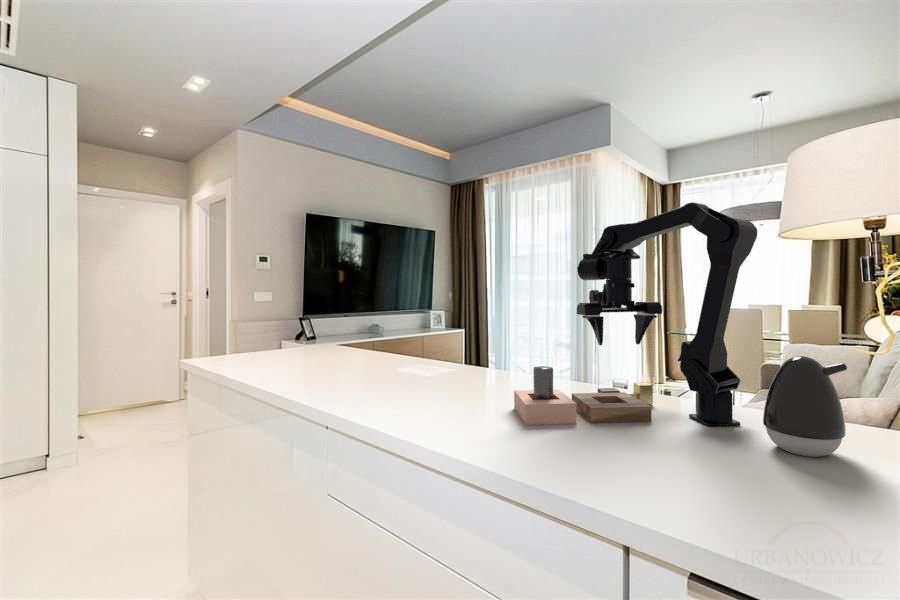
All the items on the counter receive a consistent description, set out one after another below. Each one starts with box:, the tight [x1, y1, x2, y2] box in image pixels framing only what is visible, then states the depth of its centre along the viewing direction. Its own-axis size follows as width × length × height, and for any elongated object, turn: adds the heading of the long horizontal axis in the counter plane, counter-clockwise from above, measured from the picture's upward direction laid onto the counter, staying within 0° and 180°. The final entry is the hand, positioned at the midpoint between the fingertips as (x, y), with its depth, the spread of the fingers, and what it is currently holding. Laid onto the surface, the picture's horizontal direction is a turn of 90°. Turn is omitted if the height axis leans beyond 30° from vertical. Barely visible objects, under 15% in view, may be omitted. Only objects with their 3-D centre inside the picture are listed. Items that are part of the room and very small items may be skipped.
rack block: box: [513, 388, 577, 426], centre depth 91 cm, size 12×10×4 cm
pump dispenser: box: [762, 355, 848, 458], centre depth 69 cm, size 10×10×15 cm
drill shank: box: [533, 365, 554, 400], centre depth 90 cm, size 4×4×10 cm
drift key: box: [626, 381, 654, 405], centre depth 99 cm, size 3×11×4 cm, turn 92°
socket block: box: [571, 387, 652, 424], centre depth 92 cm, size 15×12×3 cm
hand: (619, 344), depth 103 cm, fingers open, 9 cm apart
